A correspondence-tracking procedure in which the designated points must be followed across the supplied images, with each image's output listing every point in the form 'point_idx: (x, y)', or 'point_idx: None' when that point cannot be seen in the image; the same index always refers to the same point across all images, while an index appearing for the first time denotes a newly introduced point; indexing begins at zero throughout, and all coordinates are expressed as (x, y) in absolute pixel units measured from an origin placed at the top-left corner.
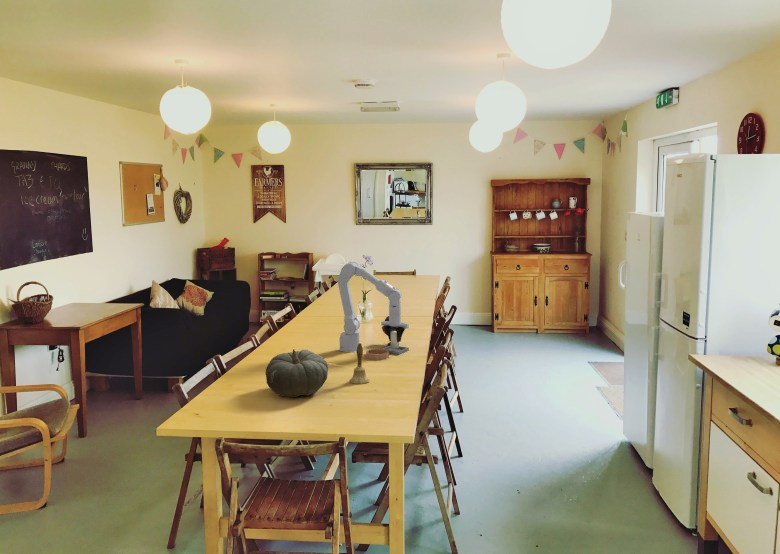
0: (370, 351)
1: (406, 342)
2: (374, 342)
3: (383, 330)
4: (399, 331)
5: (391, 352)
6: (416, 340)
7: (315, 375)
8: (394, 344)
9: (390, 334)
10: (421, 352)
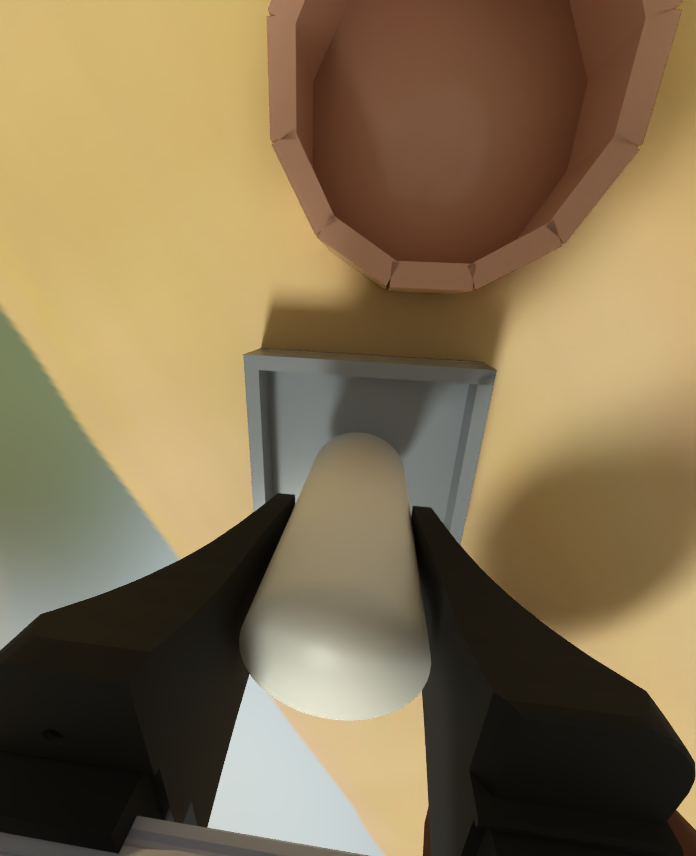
0: (602, 134)
1: (416, 725)
2: (678, 672)
3: (676, 812)
4: (88, 601)
5: (343, 357)
6: (376, 772)
7: None
8: (332, 457)
9: (430, 596)
10: (170, 541)
